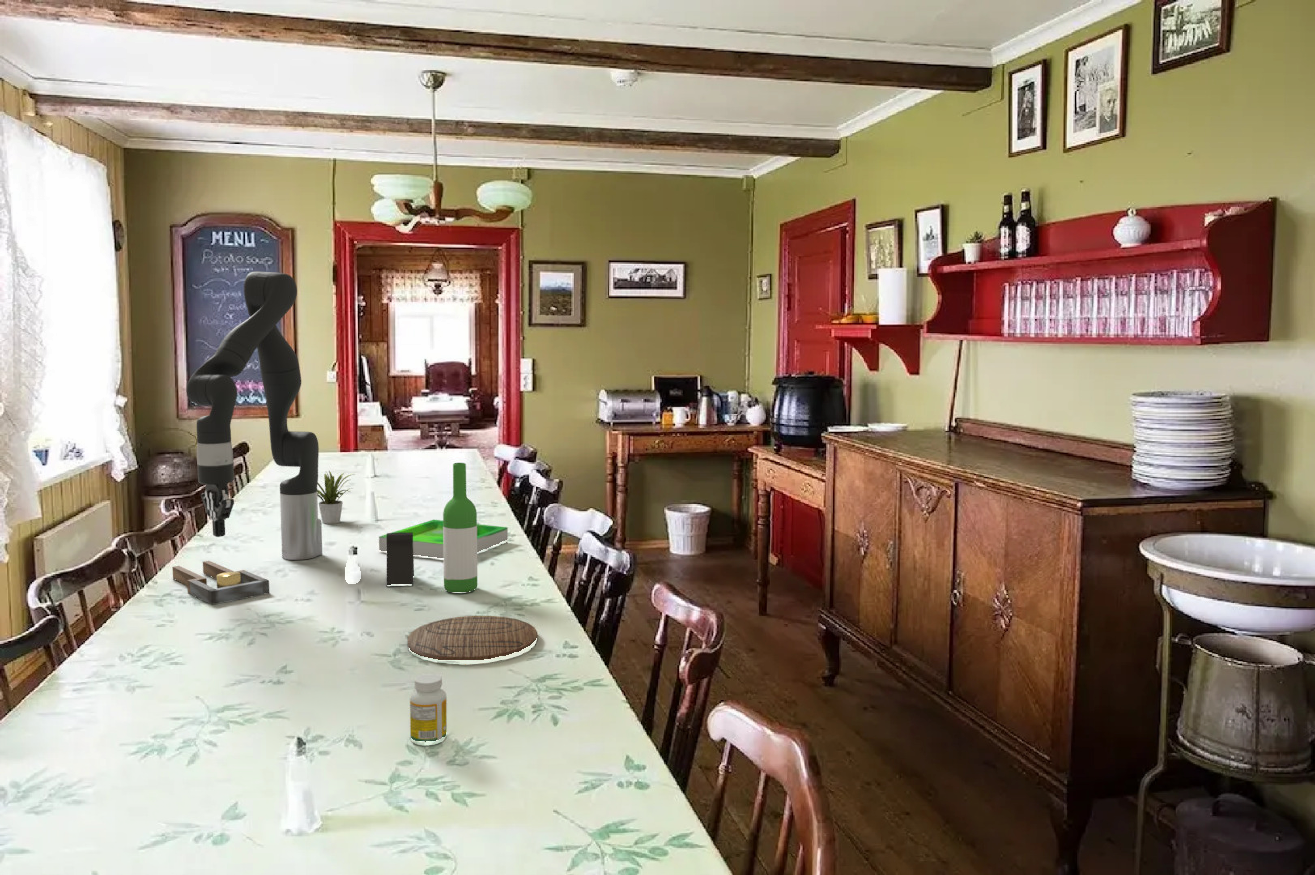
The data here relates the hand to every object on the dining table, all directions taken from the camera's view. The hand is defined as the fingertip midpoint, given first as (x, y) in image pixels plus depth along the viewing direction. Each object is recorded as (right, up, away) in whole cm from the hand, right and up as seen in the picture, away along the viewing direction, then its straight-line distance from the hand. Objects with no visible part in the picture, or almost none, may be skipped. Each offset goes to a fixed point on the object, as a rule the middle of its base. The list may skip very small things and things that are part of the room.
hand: (219, 535), depth 220 cm
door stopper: (+39, -12, +10) cm, 42 cm away
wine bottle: (+55, -13, +4) cm, 57 cm away
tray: (+42, -9, +45) cm, 62 cm away
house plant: (+1, -4, +76) cm, 76 cm away
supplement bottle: (+66, -23, -76) cm, 104 cm away
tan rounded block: (+3, -13, -2) cm, 14 cm away
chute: (-3, -12, +4) cm, 13 cm away
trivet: (+65, -18, -32) cm, 75 cm away
